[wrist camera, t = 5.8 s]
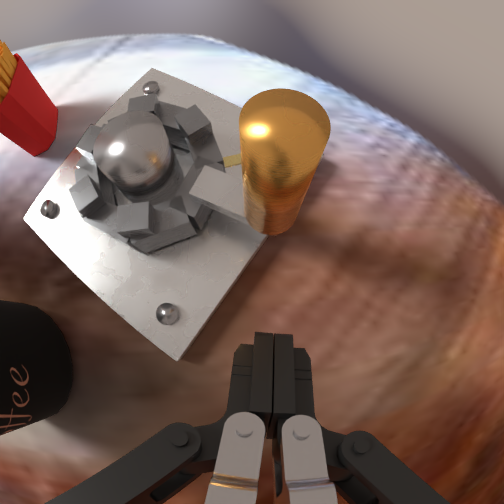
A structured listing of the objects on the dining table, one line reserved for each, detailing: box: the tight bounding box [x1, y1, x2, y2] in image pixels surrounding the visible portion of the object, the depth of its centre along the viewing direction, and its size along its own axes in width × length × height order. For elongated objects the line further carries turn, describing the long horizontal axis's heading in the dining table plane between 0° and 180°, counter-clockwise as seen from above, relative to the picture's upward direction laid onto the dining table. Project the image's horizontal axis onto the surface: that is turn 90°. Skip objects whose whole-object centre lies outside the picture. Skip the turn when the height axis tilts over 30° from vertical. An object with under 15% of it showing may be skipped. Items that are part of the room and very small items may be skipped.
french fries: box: [0, 40, 58, 156], centre depth 21 cm, size 9×4×13 cm, turn 15°
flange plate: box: [24, 68, 324, 361], centre depth 22 cm, size 20×20×8 cm
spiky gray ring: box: [69, 89, 331, 253], centre depth 17 cm, size 17×11×13 cm, turn 65°
